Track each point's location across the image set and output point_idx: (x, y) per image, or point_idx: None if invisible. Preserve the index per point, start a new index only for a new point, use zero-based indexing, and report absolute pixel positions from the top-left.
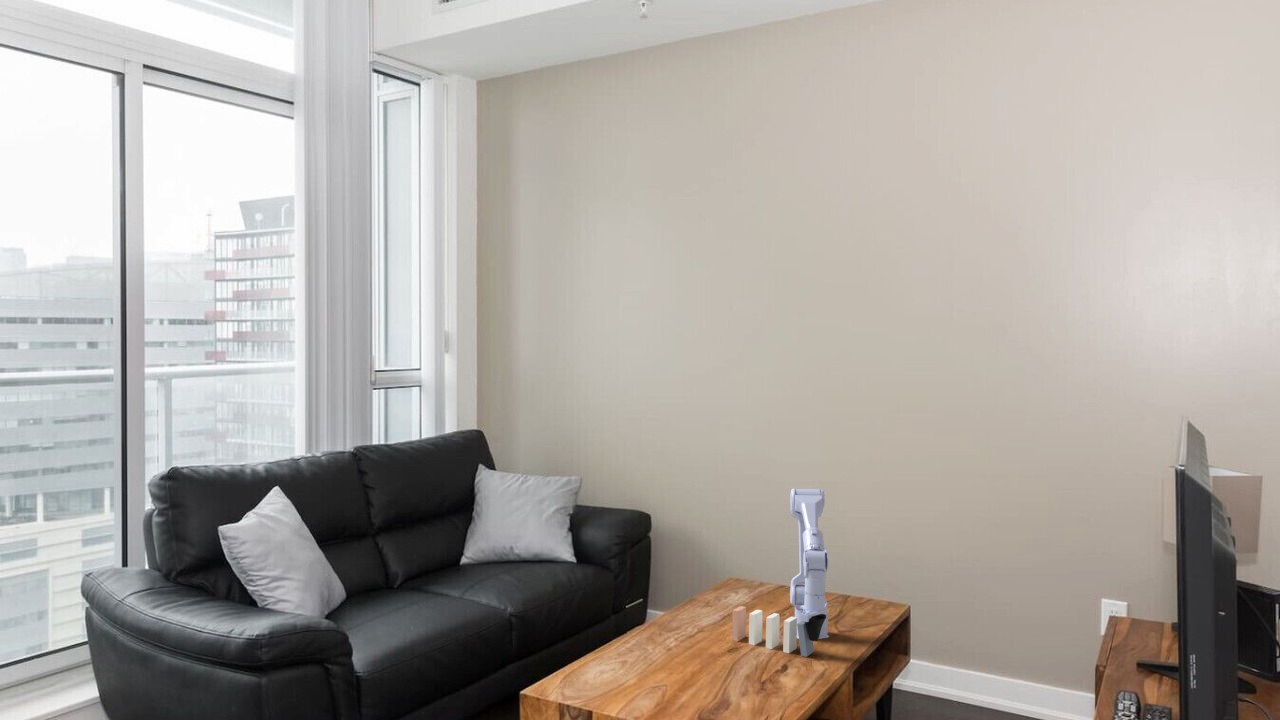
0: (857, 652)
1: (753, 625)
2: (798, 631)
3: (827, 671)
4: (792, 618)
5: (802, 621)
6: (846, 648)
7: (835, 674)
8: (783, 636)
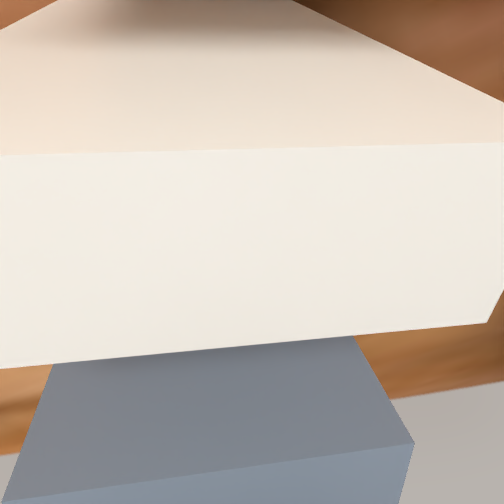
0: (408, 390)
1: None
2: (51, 379)
3: (12, 420)
4: (350, 274)
5: (256, 482)
6: (454, 337)
7: (12, 453)
8: (9, 26)
